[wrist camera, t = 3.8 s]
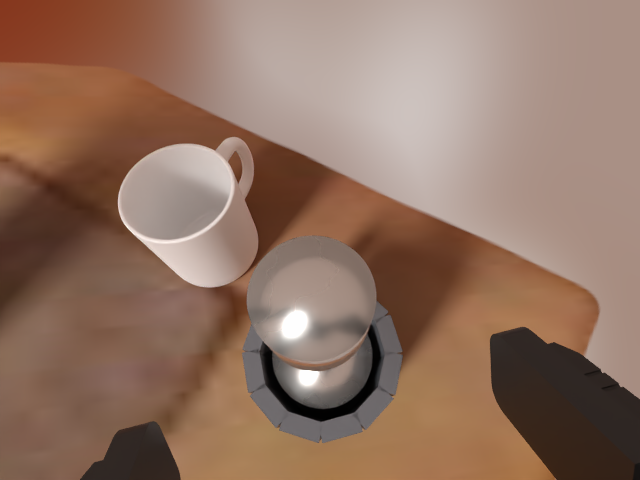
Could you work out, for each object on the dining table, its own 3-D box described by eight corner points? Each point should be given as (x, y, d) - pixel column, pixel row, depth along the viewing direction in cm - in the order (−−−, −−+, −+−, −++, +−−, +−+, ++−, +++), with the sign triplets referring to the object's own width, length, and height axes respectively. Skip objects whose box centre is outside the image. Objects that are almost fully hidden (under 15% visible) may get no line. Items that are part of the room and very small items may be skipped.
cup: (155, 265, 35) (92, 212, 26) (225, 170, 40) (193, 95, 31) (229, 305, 34) (189, 263, 24) (294, 200, 38) (282, 131, 29)
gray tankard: (286, 446, 29) (257, 463, 18) (260, 308, 33) (225, 255, 23) (392, 416, 29) (426, 416, 19) (352, 285, 34) (361, 222, 23)
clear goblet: (285, 420, 20) (229, 425, 9) (266, 321, 22) (203, 232, 12) (383, 393, 20) (439, 367, 10) (355, 298, 23) (374, 192, 12)
